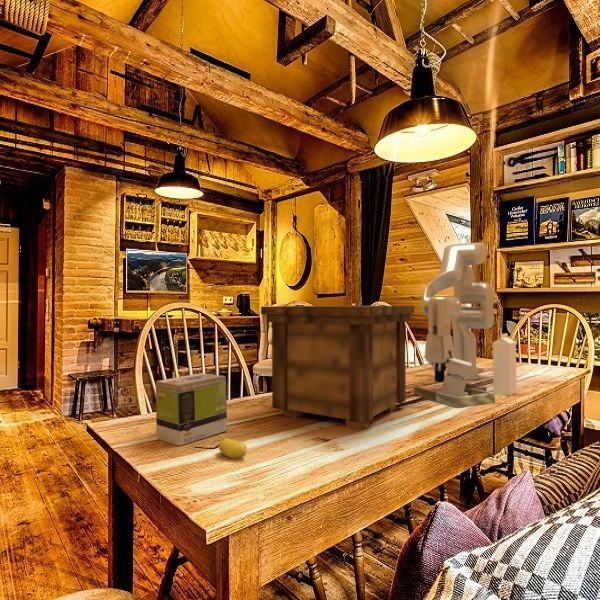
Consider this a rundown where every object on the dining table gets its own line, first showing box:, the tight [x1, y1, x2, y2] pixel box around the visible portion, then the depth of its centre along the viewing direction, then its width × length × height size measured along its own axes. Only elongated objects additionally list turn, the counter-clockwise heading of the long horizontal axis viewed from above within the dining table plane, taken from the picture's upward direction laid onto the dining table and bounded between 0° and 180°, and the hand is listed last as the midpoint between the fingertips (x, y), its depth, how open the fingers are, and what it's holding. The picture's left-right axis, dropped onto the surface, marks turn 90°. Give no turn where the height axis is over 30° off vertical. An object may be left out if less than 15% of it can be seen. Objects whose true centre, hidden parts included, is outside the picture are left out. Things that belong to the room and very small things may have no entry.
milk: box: [492, 332, 517, 396], centre depth 155 cm, size 6×6×22 cm
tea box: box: [155, 372, 228, 447], centre depth 107 cm, size 15×10×15 cm
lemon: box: [218, 437, 248, 459], centre depth 92 cm, size 4×8×4 cm, turn 47°
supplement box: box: [439, 357, 472, 397], centre depth 148 cm, size 7×7×13 cm
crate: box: [260, 305, 416, 430], centre depth 130 cm, size 35×35×33 cm
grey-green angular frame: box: [413, 382, 496, 409], centre depth 148 cm, size 23×20×3 cm
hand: (439, 381), depth 151 cm, fingers closed
